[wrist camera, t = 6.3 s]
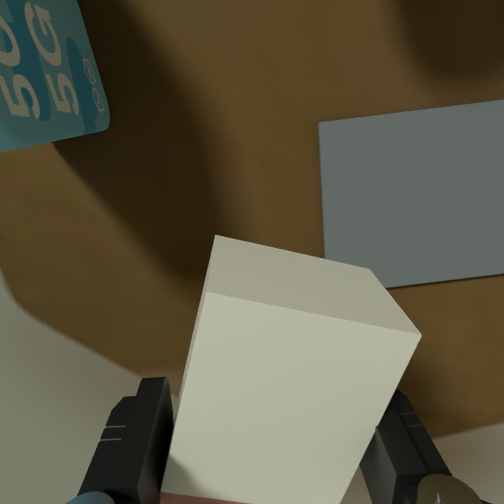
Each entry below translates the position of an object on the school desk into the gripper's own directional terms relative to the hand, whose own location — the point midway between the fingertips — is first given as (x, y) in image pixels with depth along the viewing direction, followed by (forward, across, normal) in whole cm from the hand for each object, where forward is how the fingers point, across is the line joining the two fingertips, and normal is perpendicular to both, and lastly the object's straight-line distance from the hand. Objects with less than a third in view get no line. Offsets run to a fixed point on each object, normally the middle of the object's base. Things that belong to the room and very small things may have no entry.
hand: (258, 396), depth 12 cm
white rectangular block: (+1, 0, 0) cm, 1 cm away
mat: (+15, -12, -2) cm, 20 cm away
